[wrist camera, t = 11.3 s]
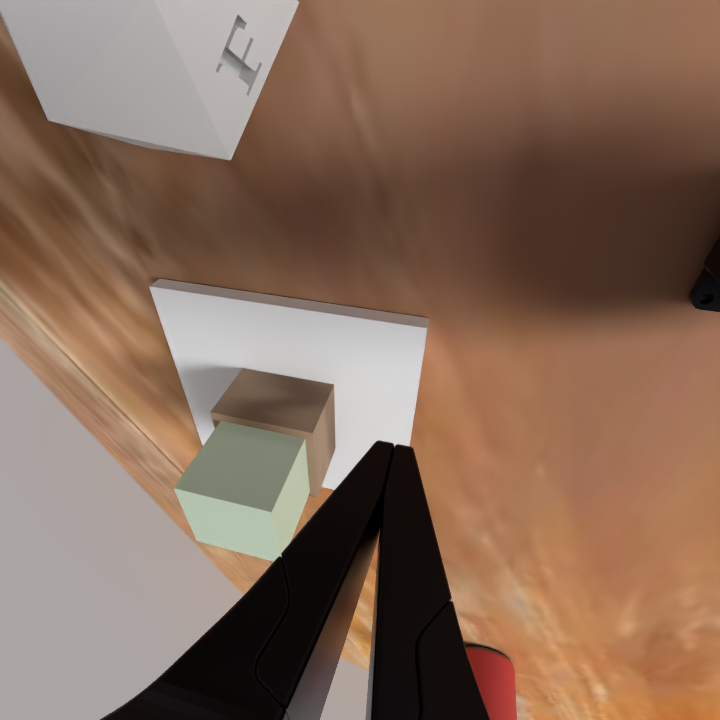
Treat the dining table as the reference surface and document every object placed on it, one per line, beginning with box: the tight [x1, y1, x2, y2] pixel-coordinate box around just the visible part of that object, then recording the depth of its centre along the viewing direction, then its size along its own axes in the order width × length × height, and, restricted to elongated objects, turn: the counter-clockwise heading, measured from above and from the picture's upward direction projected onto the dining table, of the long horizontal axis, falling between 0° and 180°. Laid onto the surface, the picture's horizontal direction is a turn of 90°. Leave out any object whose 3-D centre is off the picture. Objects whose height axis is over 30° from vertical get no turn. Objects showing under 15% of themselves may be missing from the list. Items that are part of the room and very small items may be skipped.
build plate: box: [149, 279, 429, 490], centre depth 27 cm, size 16×16×1 cm
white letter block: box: [0, 0, 299, 160], centre depth 13 cm, size 8×9×10 cm
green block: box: [174, 421, 310, 561], centre depth 22 cm, size 5×5×4 cm
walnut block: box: [210, 368, 336, 498], centre depth 25 cm, size 6×6×4 cm
